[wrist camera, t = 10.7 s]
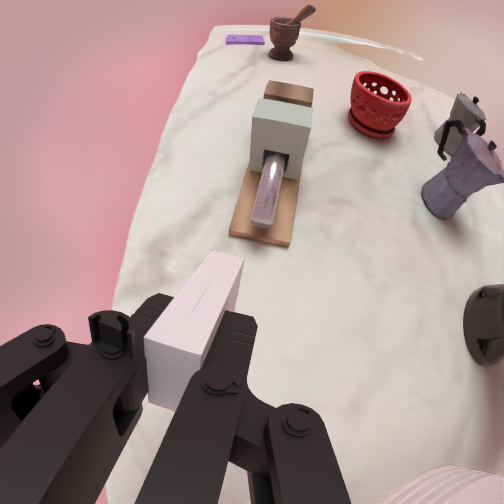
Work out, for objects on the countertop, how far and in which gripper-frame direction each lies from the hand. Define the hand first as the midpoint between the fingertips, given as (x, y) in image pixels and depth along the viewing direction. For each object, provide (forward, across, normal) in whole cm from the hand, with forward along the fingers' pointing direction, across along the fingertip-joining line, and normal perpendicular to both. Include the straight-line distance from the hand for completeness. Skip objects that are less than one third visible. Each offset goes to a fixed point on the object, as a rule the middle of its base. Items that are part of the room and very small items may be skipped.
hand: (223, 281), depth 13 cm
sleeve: (+37, 0, +4) cm, 37 cm away
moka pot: (+42, +34, +6) cm, 54 cm away
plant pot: (+55, +18, +18) cm, 60 cm away
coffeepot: (+58, +43, +22) cm, 75 cm away
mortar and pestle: (+74, -5, +38) cm, 83 cm away
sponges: (+81, -21, +45) cm, 95 cm away
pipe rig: (+38, 0, +2) cm, 38 cm away
